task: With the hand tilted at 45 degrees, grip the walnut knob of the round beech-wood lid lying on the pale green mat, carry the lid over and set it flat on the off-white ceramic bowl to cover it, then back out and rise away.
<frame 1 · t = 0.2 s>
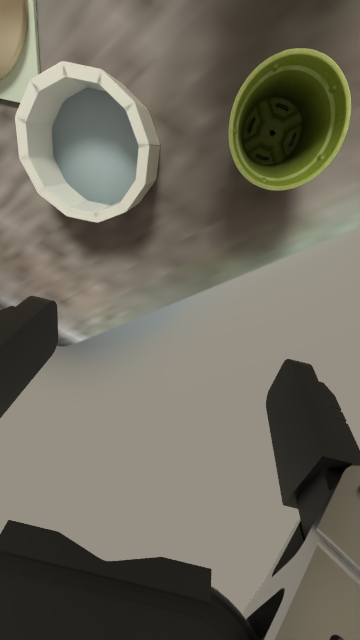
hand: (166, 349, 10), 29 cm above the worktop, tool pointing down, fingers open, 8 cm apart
plant pot: (270, 132, 31), on the worktop
bowl: (103, 151, 33), on the worktop
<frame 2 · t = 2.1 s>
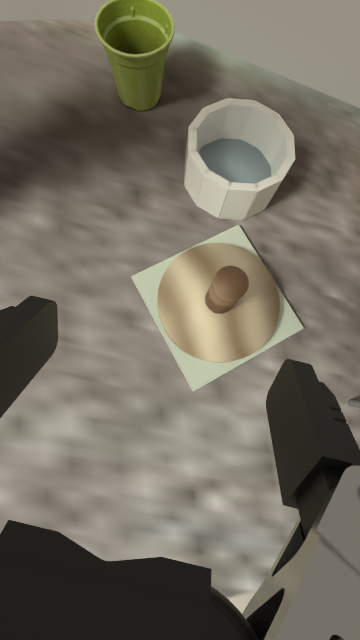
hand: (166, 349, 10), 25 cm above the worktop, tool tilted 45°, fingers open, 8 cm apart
plant pot: (140, 96, 43), on the worktop
lid: (217, 302, 36), resting on mat
bowl: (230, 177, 40), on the worktop
mat: (216, 303, 36), on the worktop
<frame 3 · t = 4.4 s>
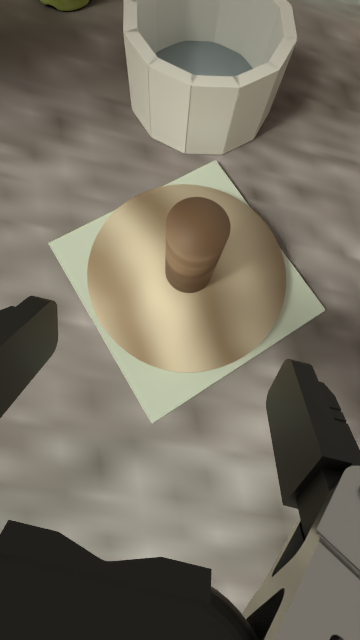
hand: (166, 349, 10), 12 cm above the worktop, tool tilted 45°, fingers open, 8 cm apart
lid: (187, 276, 23), resting on mat
bowl: (200, 96, 27), on the worktop
mat: (186, 279, 23), on the worktop
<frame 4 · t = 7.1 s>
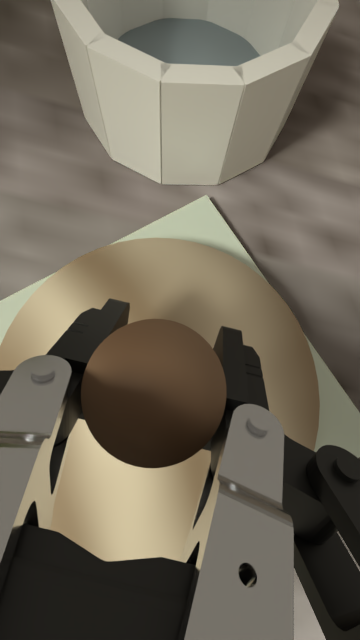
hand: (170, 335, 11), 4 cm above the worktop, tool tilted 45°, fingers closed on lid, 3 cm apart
lid: (159, 387, 14), resting on mat, touching gripper
bowl: (186, 99, 19), on the worktop
mat: (158, 387, 15), on the worktop
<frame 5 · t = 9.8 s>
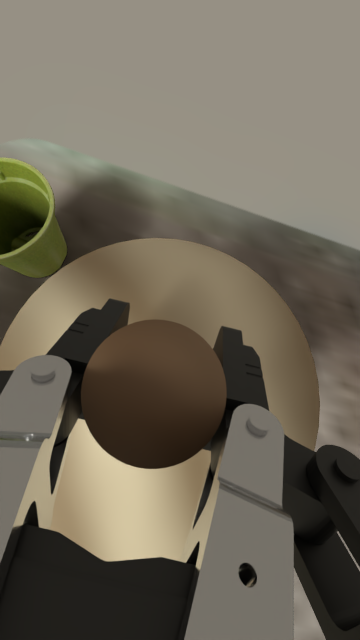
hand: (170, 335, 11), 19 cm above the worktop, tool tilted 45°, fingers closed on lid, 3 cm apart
plant pot: (41, 254, 32), on the worktop
lid: (159, 387, 14), point 15 cm above the worktop, touching gripper
when the fingers open (11 cm above the worktop, at t = 12.4 s): lid drops 1 cm, resting on bowl.
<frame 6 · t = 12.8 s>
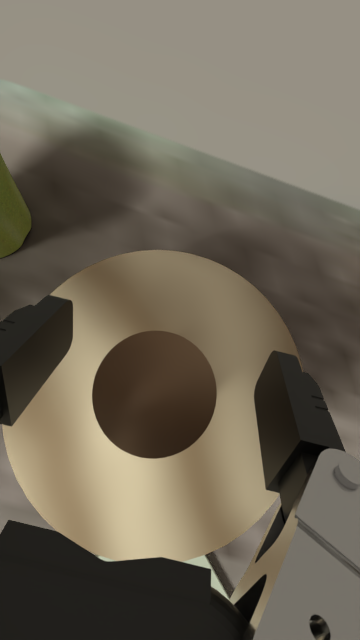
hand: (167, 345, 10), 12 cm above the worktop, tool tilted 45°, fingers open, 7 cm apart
lid: (159, 388, 15), point 6 cm above the worktop, touching bowl
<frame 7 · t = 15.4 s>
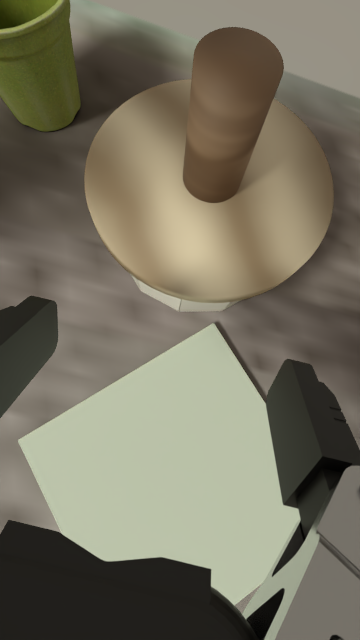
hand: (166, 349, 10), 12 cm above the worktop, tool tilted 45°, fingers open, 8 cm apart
plant pot: (48, 108, 26), on the worktop
lid: (208, 190, 18), point 6 cm above the worktop, touching bowl
bowl: (197, 236, 24), on the worktop
mat: (178, 478, 20), on the worktop
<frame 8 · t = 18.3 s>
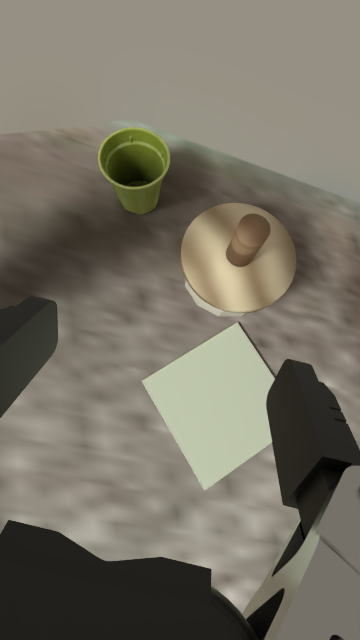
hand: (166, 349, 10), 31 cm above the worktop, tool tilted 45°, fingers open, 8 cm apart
plant pot: (139, 199, 46), on the worktop
lid: (237, 258, 38), point 6 cm above the worktop, touching bowl
bowl: (227, 274, 44), on the worktop
mat: (221, 400, 40), on the worktop
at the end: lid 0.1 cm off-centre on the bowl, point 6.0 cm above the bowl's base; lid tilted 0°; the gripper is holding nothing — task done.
